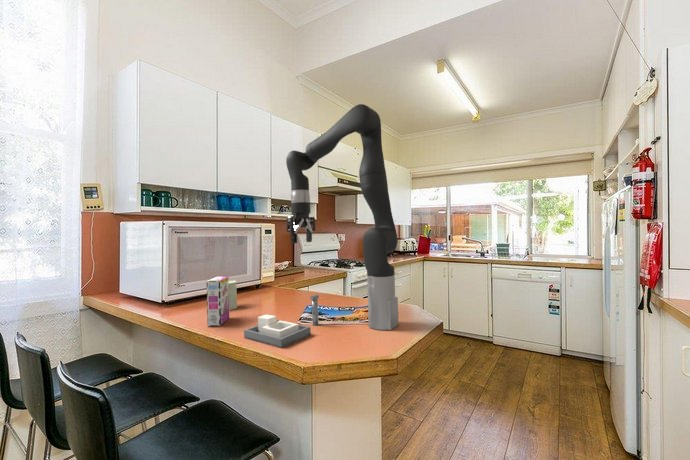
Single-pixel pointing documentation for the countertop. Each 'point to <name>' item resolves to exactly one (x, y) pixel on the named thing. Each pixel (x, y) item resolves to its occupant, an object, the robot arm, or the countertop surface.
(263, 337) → the tray
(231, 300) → the can
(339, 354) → the countertop surface
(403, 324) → the countertop surface
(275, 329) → the collar
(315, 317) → the post
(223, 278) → the candy bar box
